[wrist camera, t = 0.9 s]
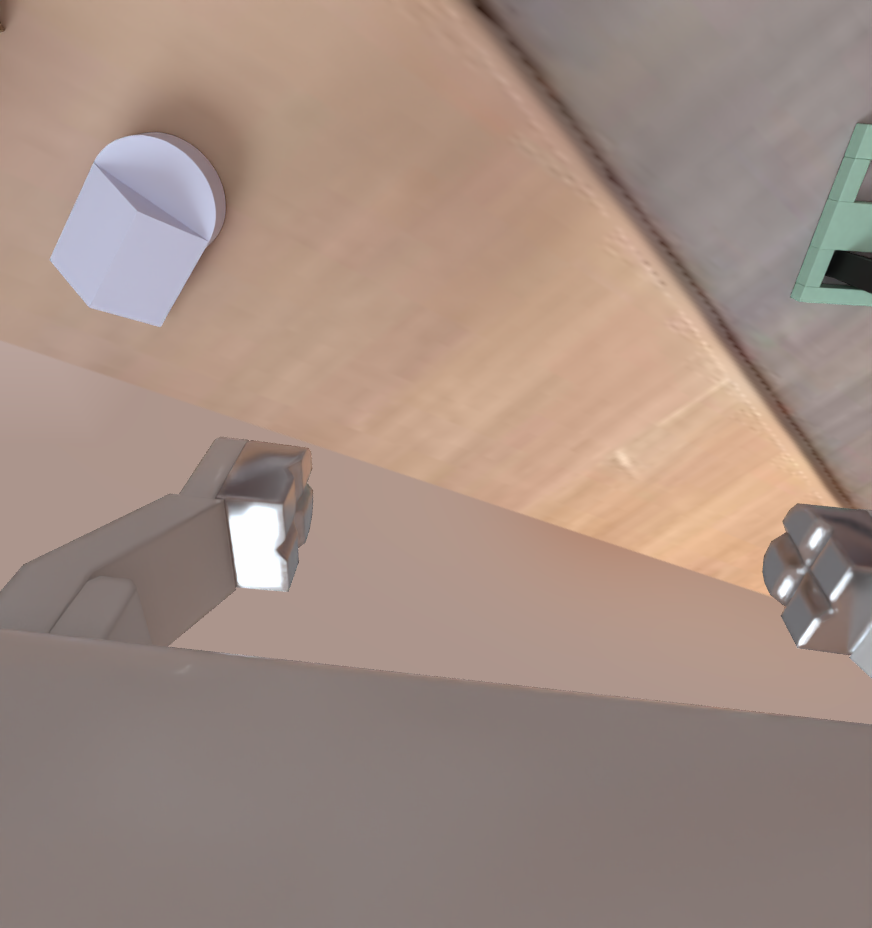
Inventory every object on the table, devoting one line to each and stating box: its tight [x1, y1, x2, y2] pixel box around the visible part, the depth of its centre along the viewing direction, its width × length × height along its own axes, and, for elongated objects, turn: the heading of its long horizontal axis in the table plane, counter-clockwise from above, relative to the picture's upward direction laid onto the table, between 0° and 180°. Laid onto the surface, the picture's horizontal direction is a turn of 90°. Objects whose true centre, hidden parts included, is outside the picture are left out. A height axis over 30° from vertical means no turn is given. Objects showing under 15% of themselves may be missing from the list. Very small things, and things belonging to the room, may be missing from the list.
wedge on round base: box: [50, 132, 226, 327], centre depth 46 cm, size 9×7×13 cm
